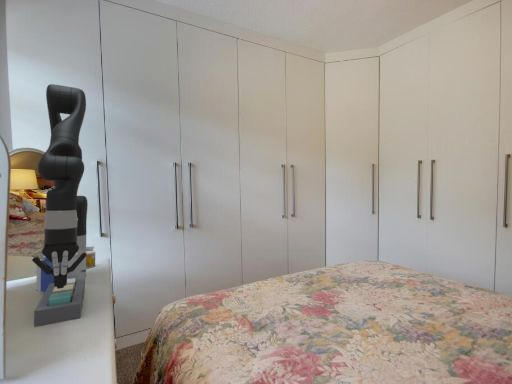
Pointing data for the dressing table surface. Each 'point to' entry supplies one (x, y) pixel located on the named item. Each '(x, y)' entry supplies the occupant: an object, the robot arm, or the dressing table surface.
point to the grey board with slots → (59, 306)
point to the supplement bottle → (90, 256)
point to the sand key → (64, 289)
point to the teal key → (60, 298)
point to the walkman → (44, 277)
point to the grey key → (71, 281)
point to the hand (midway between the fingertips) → (60, 287)
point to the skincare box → (77, 269)
